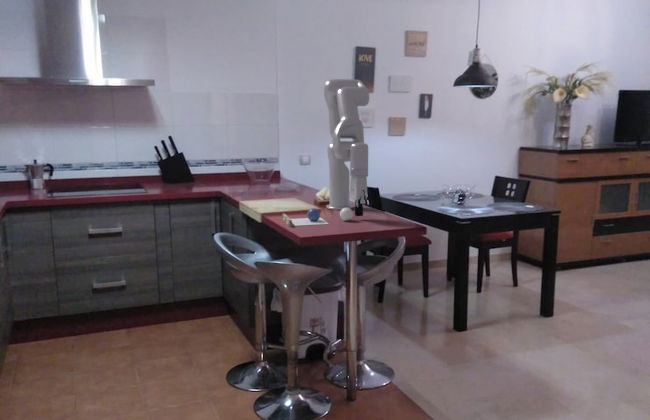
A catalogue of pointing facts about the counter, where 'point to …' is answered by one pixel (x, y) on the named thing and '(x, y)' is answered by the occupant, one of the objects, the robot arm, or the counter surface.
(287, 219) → the stopper rail
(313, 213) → the navy ball
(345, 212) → the cue ball
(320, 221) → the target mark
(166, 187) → the counter surface
